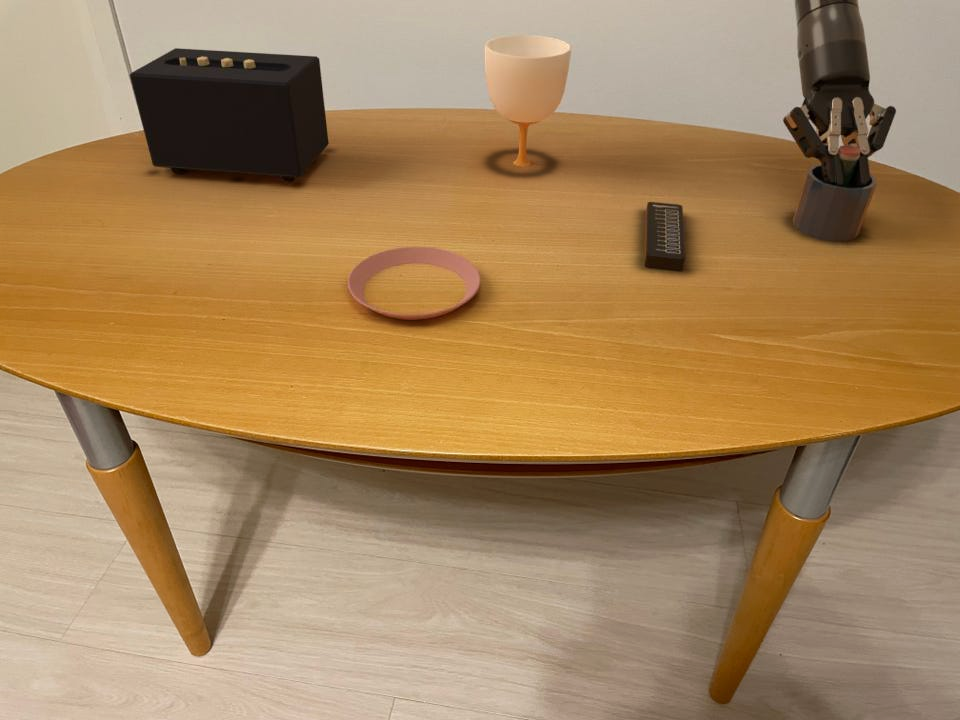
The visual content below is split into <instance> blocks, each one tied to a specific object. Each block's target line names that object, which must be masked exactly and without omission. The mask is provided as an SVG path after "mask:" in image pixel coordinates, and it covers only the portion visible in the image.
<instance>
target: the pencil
mask: <svg viewBox="0 0 960 720" xmlns="http://www.w3.org/2000/svg"><path fill="white" fill-rule="evenodd" d="M860 152H861V150H860V149H859V148H857V147H854V146H849V145H840V146H839V151H838V153H837V156H840V159H841V167H842V175H843V186H842V187H847V188H849V185H850V182H851V179H852V176H853V173H854V170H855V167H856V164H857V161H858V159H859V157H860Z"/></svg>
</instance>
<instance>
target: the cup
mask: <svg viewBox="0 0 960 720" xmlns="http://www.w3.org/2000/svg"><path fill="white" fill-rule="evenodd" d="M571 54H572V45H571V44H569V43H568V42H566V41H564V40H561V39H558V38H556V37H551V36H544V35H534V34H515V35H514V34H513V35H504V36H498V37H494V38H492V39H489V40H487V41H486V43H485V45H484V71H485V72H484V73H485V82H486V83H485V84H486V91H487V93H488V98H489V101H490V102H491V104H492V106H493V108H494V109H495V111H496V112H497V114H498V115H500V117H501V118H503V119H505V120H507V121H509V122H511V123H514V124H516V125H518V126H519V146H518V154H517V158H516V159H515V160H514V161H513V162H512V164H513V165H514V166H516V167H521V168H522V167H523V168H524V167H528V166H531V161H530V160H528V158H527V141H528V140H527V137H528V130H529V127H530V126H531V125H533V124H537V123H541V122H543V121H545V120H546V119H548V118H549V117H551V116H552V115H553V114H554V113H555V111H556V110H557V109H558V107H559V106H560V105H561V102H562V100H563V97H564V94H565V89H566V85H567V81H568V76H569V70H570V62H571Z"/></svg>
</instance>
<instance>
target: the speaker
mask: <svg viewBox="0 0 960 720" xmlns="http://www.w3.org/2000/svg"><path fill="white" fill-rule="evenodd" d="M129 79H130V83H131V87H132V90H133V94H134V98H135V102H136V105H137V109H138V113H139V114H138V115H139V117H140V121H141V125H142V129H143V132H144V136H145V141H146V144H147V149H148V153H149V156H150V159H151V163H152V166H153V167H155V168H166V169H171V171H172V173H173V174H178V175H179V174H183V173H186V171H187V170H191V171H193V170H194V171H204V172H205V171H207V172H220V173H232V174H243V175H256V176H257V175H258V176H270V177H281V178H282V180H283V181H284V183H292V182H294V181H296V178H297V179H300V178H301V177H303V175H304V174H305V173H306V172H307V170H308V169H309V168H310V167H311V165H312V164H313V163H314V162H315V161H316V160H317V158H319V156H320V155H321V154H322V152H323V151H324V150H325V149H326V148H327V147H328V146H329V144H330V143H329V135H328V134H329V133H328V125H327V118H326V117H327V116H326V115H327V114H326V107H325V98H324V89H323V79H322V71H321V63H320V57H318V56H316V55H299V54H298V55H297V54H282V53H280V54H279V53H266V52H265V53H264V52H263V53H262V52H247V51H228V50H214V49H213V50H212V49H197V48H196V49H194V48H179V47H178V48H177V47H175V48H174V49H172V50H170V51H167V52H166V53H164V54H162V55H161V56H159V57H157V58H156V59H153V60H152V61H150V62H148V63H147V64H145V65H143V66H141V67H139V68H137V69H136V70H134V71H132V72H131V73H130V74H129Z"/></svg>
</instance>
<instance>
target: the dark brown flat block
mask: <svg viewBox="0 0 960 720" xmlns="http://www.w3.org/2000/svg"><path fill="white" fill-rule="evenodd" d="M644 218H645V220H644V221H645V223H644V252H643V254H644V255H643V267H644V268H646V269H651V270H660V271H661V270H663V271H670V272H671V271H672V272H682V271H684V267H685V263H686V246H685V245H686V244H685V241H686V240H685V225H684V210H683V205H682V204H677V203H669V202H667V203H666V202H658V201H657V202H656V201H647V204H646V210H645V217H644Z"/></svg>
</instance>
